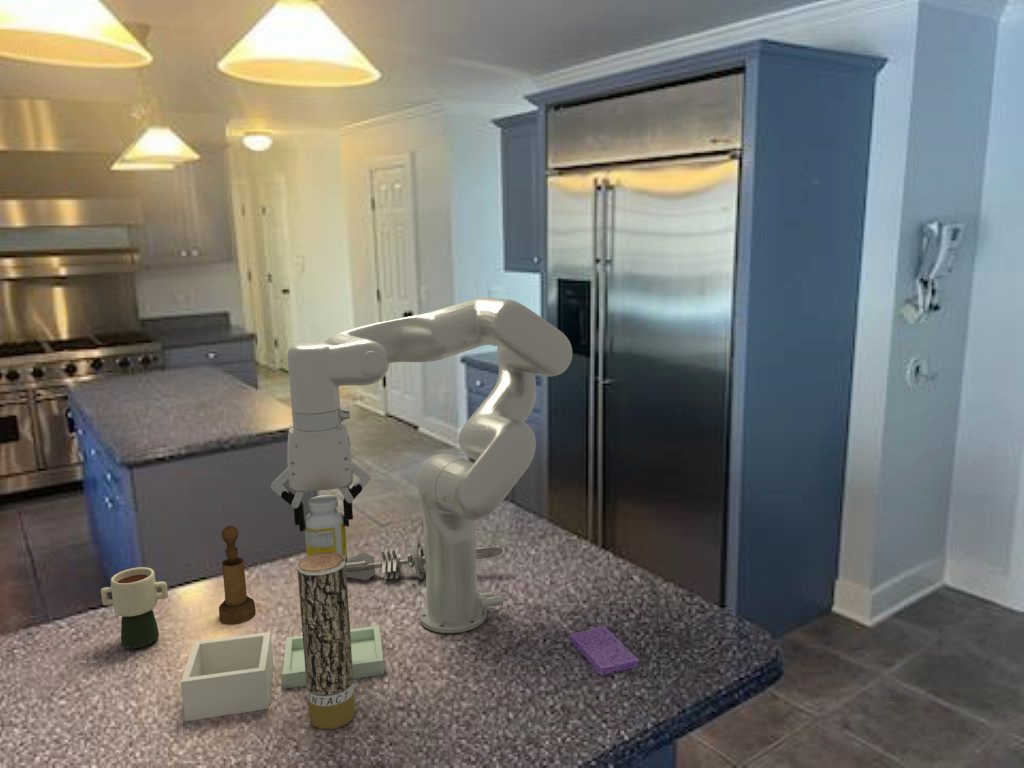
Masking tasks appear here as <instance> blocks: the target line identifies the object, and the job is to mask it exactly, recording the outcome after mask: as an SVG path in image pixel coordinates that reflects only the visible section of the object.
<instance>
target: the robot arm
mask: <svg viewBox="0 0 1024 768" xmlns="http://www.w3.org/2000/svg"><path fill="white" fill-rule="evenodd" d="M482 346H493V347H494V346H495V347H496V349H497V350H496V351H497V352H496V353H497V355H496V356H497V360H498V375H497V380H496V383H495V386H494V387H493V388H492V390H491V391H490V393H489V394H488V396H487V397H486V398H485V399H484V400H483V401H482V403H481V404H480V405H479V406H478V407H477V409H476V410H475V411H474V412H473V413H472V415H471V416H470V417H469V419H468V420H467V421H466V422H465V423H464V424H463V426H462V428H461V429H460V431H459V434H458V440H457V441H458V446H459V448H460V449H461V450H460V451H462V452H463V453H464V454H465V455H466V457H469V458H471V459H472V460H474V462H472V461H470V460H468V459H466V458H462V457H459V456H457V455H453V454H450V453H438V454H434V455H431V456H430V457H428V458H426V459H425V460H424V462H422V464H421V466H420V468H419V470H418V473H417V478H416V487H417V488H416V490H417V494H418V499H419V504H420V507H421V508H420V509H421V514H422V520H423V521H422V522H423V536H424V537H423V538H424V555H425V562H426V563H425V578H426V579H425V580H426V604H425V605H424V606H423V607H422V608H421V609H420V611H419V622H420V625H422V626H423V627H424V628H426V629H427V630H430V631H432V632H434V633H441V634H459V633H464V632H468V631H470V630H473V629H476V628H477V627H479V626H481V625H482V624H483V623H484V622H485V621H486V618H487V609H488V608H491V607H501V606H502V607H503V605H504V599H503V595H502V594H499V595H498V594H497V595H494V591H487V592H482V591H479V588H478V568H477V567H478V566H477V565H478V564H477V560H478V559H477V558H476V548H477V529H476V521H479V520H482V519H485V518H487V517H489V516H490V515H491V514H492V513H494V511H495V510H496V509H497V508H498V507H499V506H500V505H501V503H502V502H503V501H504V499H505V498H506V497H507V496H508V494H509V493H511V491H512V490H513V488H514V486H515V485H516V484H517V483H518V481H519V480H520V478H522V477H523V475H524V474H525V472H526V471H527V469H528V468H529V467H530V466H531V464H532V461H533V459H534V456H535V453H536V448H537V440H536V439H537V438H536V435H535V433H534V430H533V428H532V427H531V426H529V425H528V423H526V420H527V419H528V417H529V416H530V414H531V413H532V411H533V409H534V407H535V406H536V401H537V381H536V380H537V379H536V375H538V376H542V377H543V376H544V377H556V376H559V375H562V374H564V372H565V371H567V369H568V368H569V367H570V365H571V363H572V360H573V347H572V344H571V341H570V340H569V338H568V337H567V336H566V335H565V334H564V332H563V331H561V330H560V329H558V328H557V327H556V326H554V325H553V324H551V323H550V322H548V321H547V320H546V319H544V318H543V317H541V316H540V315H539V314H538V313H536V312H534V311H533V310H531V309H530V308H529V307H527V306H525V305H524V304H522V303H520V302H518V301H516V300H513V299H507V298H505V299H504V298H495V297H478V298H474V299H470V300H467V301H464V302H460V303H456V304H453V305H449V306H447V307H442V308H439V309H437V310H435V309H434V310H433V311H429V312H425V313H422V314H421V313H420V314H416V315H415V314H414V315H410V316H405V317H401V318H397V319H391V320H387V321H381V322H375V323H372V324H366V325H364V326H363V325H362V326H359V327H355V328H352V329H349V330H345V331H342V332H339V333H335V334H334V335H332V336H330V337H329V338H328V339H326V340H325V342H322V341H321V342H319V341H315V342H312V341H311V342H302V343H296V344H294V345H292V346H291V347H290V348H289V349H288V351H287V369H288V378H289V379H288V380H289V390H290V391H289V393H290V404H291V405H290V406H291V407H290V408H291V418H292V427H290V428H289V429H288V435H287V449H286V450H287V453H286V454H287V467H286V468H285V469H284V470H283V471H282V472H281V473H280V474H279V475H278V476H277V477H275V479H274V481H273V482H271V484H270V489H271V490H272V491H273V492H274V493H275V494H277V495H278V496H280V497H281V499H282V500H284V501H285V502H287V503H288V504H289V505H290V506H291V507H292V509H293V515H294V525H295V526H299V527H298V528H299V532H304V531H305V528H304V519H305V512H304V511H305V510H304V503H303V502H302V499H303V496H304V495H305V493H306V492H307V493H308V492H315V491H316V492H317V491H328V490H337V489H338V490H339V491H340V493H341V495H342V496H343V499H342V503H343V504H342V505H343V506H342V507H343V515H344V522H345V528H347V527H350V521H351V520H354V515H353V514H354V513H353V502H354V500H355V499H356V498H357V497H358V496H359V495H360V494H361V492H362V490H363V489H364V488H365V487H366V486H367V485H368V484H369V482H370V481H371V479H372V478H371V474H370V473H369V472H367V471H366V470H365V469H363V468H362V467H360V466H359V465H358V464H357V463H356V462H354V461H353V457H352V448H351V442H350V441H351V440H350V436H349V431H348V428H347V425H346V424H344V423H343V422H344V421H345V420H350V419H351V414H350V410H343V409H342V408H341V401H340V386H358V387H359V386H370V385H374V384H376V383H377V382H379V381H381V380H382V379H383V378H384V377H385V376H386V374H387V373H388V371H389V368H390V364H392V363H404V362H405V363H428V362H437V361H441V360H444V359H447V358H450V357H452V356H455V355H459V354H461V353H464V352H467V351H470V350H474V349H476V348H480V347H482ZM354 475H355V476H356V477H358V478H359V479H358V481H357V482H355V484H354V485H353V486H352V487H350V486H351V485H352V484H353V481H354V479H353V478H354V477H353V476H354ZM287 481H288V485H289V488H290V490H291V491H293V492H294V493H292V492H291V491H290V490H289V489H287V488H286V487H285V486H284V484H285V483H286V482H287Z"/></svg>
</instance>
